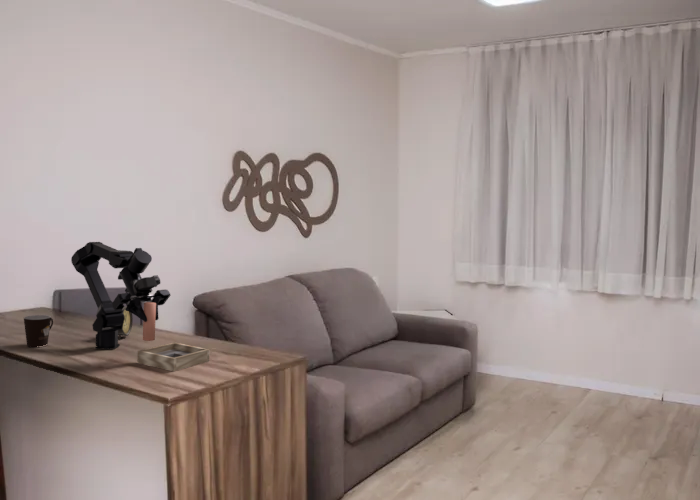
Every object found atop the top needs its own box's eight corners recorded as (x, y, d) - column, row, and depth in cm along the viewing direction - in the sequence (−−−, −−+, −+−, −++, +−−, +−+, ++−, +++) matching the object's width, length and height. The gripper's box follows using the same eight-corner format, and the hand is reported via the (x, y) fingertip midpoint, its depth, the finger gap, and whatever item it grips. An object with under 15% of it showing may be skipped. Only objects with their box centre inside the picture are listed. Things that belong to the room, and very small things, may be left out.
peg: (154, 337, 206) (155, 302, 205) (155, 340, 203) (156, 304, 202) (142, 338, 205) (143, 302, 204) (143, 341, 201) (144, 304, 200)
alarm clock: (122, 341, 230) (123, 297, 229) (107, 340, 230) (108, 297, 229) (133, 335, 241) (134, 293, 240) (119, 334, 241) (120, 292, 240)
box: (209, 361, 207) (209, 349, 207) (173, 371, 193) (174, 358, 193) (174, 353, 215) (174, 342, 215) (137, 363, 201) (137, 350, 201)
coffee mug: (30, 349, 212) (31, 320, 211) (18, 345, 217) (18, 316, 216) (64, 344, 221) (64, 316, 221) (51, 340, 226) (51, 313, 226)
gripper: (118, 268, 197) (136, 308, 191) (168, 265, 211) (187, 303, 205) (104, 290, 202) (121, 329, 196) (154, 285, 217) (171, 322, 211)
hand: (151, 320), depth 202 cm, fingers closed on peg, 4 cm apart
